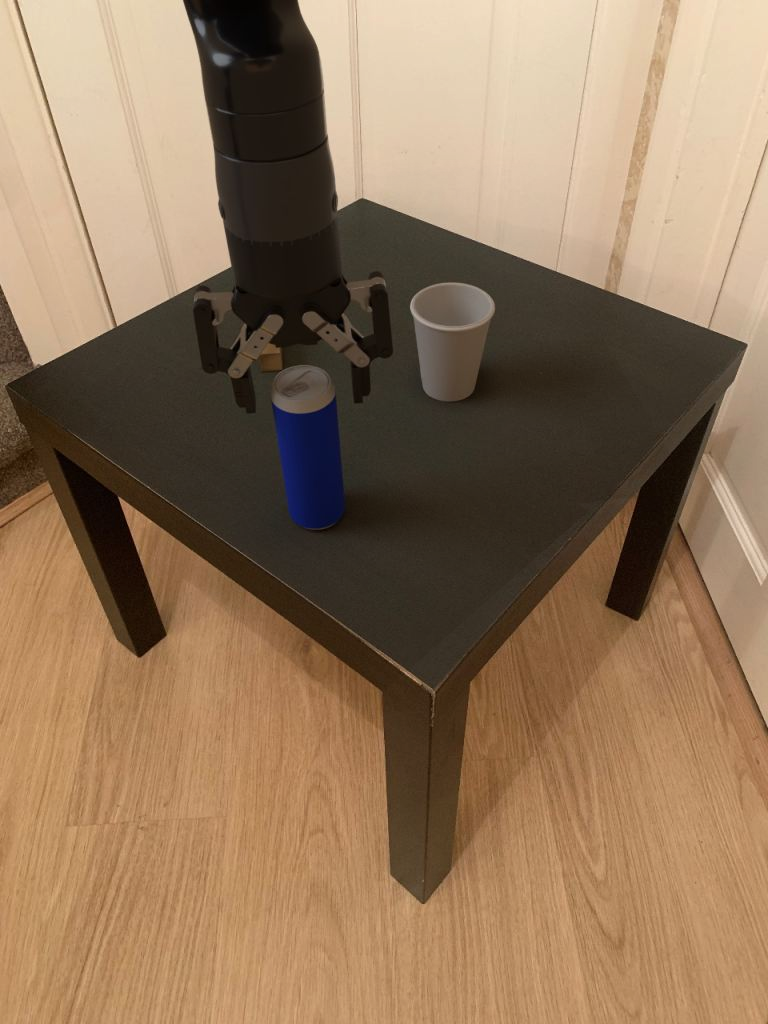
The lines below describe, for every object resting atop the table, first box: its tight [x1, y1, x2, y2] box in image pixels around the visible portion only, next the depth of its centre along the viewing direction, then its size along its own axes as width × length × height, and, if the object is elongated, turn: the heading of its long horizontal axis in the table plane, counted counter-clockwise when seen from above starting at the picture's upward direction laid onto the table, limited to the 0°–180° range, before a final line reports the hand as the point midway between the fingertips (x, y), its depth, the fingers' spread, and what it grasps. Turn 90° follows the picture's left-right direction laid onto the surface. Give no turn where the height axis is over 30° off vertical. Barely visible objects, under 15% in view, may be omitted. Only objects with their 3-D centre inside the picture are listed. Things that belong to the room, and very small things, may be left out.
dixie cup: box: [409, 282, 496, 402], centre depth 82 cm, size 8×8×10 cm
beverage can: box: [270, 364, 346, 531], centre depth 68 cm, size 5×5×15 cm
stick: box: [258, 343, 284, 373], centre depth 91 cm, size 2×12×2 cm, turn 6°
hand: (304, 402), depth 64 cm, fingers open, 8 cm apart
